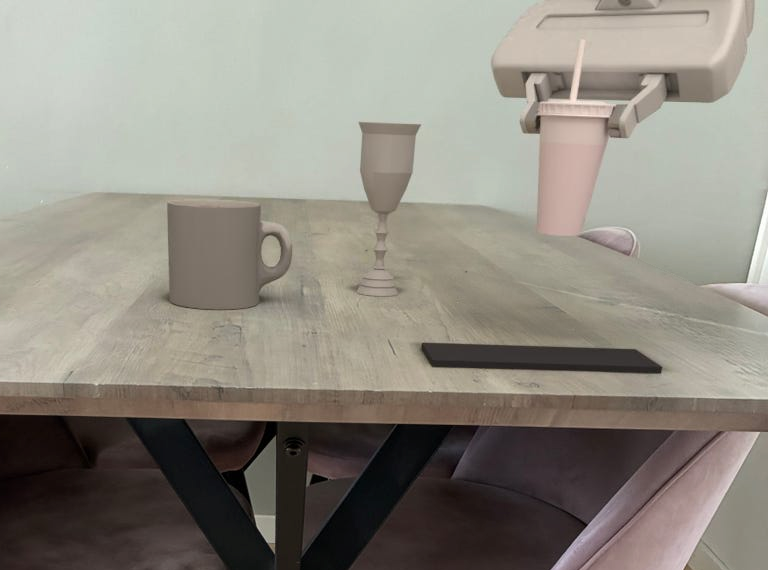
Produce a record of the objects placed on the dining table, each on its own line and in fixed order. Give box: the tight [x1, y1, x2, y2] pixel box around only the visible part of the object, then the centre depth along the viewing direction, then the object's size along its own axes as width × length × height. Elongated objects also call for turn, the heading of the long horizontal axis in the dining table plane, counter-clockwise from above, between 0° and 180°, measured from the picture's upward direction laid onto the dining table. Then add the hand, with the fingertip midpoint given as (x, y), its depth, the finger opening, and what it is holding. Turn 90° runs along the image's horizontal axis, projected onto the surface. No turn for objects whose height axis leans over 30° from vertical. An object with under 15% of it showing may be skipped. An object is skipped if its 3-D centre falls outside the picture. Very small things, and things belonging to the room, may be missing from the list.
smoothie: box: [536, 39, 619, 237], centre depth 78 cm, size 6×6×14 cm
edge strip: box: [420, 342, 663, 375], centre depth 85 cm, size 20×7×1 cm, turn 91°
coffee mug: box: [166, 198, 293, 311], centre depth 104 cm, size 13×10×10 cm
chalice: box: [355, 121, 422, 297], centre depth 111 cm, size 7×7×18 cm
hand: (572, 129), depth 77 cm, fingers closed on smoothie, 6 cm apart
